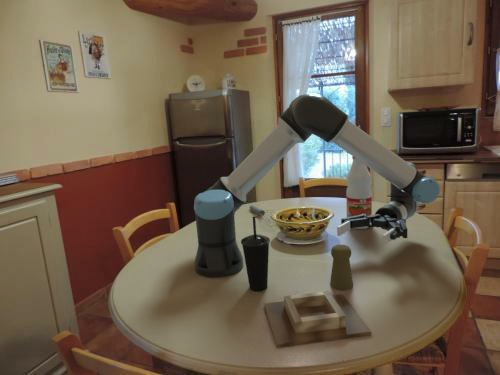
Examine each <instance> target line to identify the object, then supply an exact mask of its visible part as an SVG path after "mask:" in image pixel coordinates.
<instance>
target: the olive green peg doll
mask: <svg viewBox="0 0 500 375" xmlns="http://www.w3.org/2000/svg"><path fill="white" fill-rule="evenodd" d="M330 254H331V257H332V258H333V259H332V265H331V266H332V267H331V274H330V282H329V283H330V284H329V285H330V287H331V288H333V289H335V290H338V291H348V290H350V289H353V288H354V281H353V275H352V268H351V262H350V258H351V257H352V249H351V248H350V246H348V245H346V244H336V245H333V246H332V248H331V250H330Z"/></svg>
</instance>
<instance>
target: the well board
mask: <svg viewBox="0 0 500 375" xmlns="http://www.w3.org/2000/svg"><path fill="white" fill-rule="evenodd" d="M263 306H264V309H265V312H266V316H267V320H268V323H269V327H270V329H271V330H270V331H271V333H272V335H273V339H274V342H275V343H274V344H275V345H276V348H277V349H279V348H284V347H293V346H301V345H306V344H313V343H314V344H315V343H322V342H327V341H328V342H330V341H336V340H343V339H349V338H357V337H358V338H359V337H365V336H371V335H372V331H371V329H370V328H369V326H368V325H367V323H365V321H364V320H363V318H362V317H361V316H360V314H359V313H358V312H357V310H355V308H354V307H353V305H352V304H351V303H350V302H349V300H348V299H347V297H346V296H345V294H344V293H339V294H331V292H330V290H325V291H317V292H310V293H309V292H308V293H301V294H300V293H299V294H292V295H284V296H283V301H281V300H280V301H274V302H265V303H263Z"/></svg>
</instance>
